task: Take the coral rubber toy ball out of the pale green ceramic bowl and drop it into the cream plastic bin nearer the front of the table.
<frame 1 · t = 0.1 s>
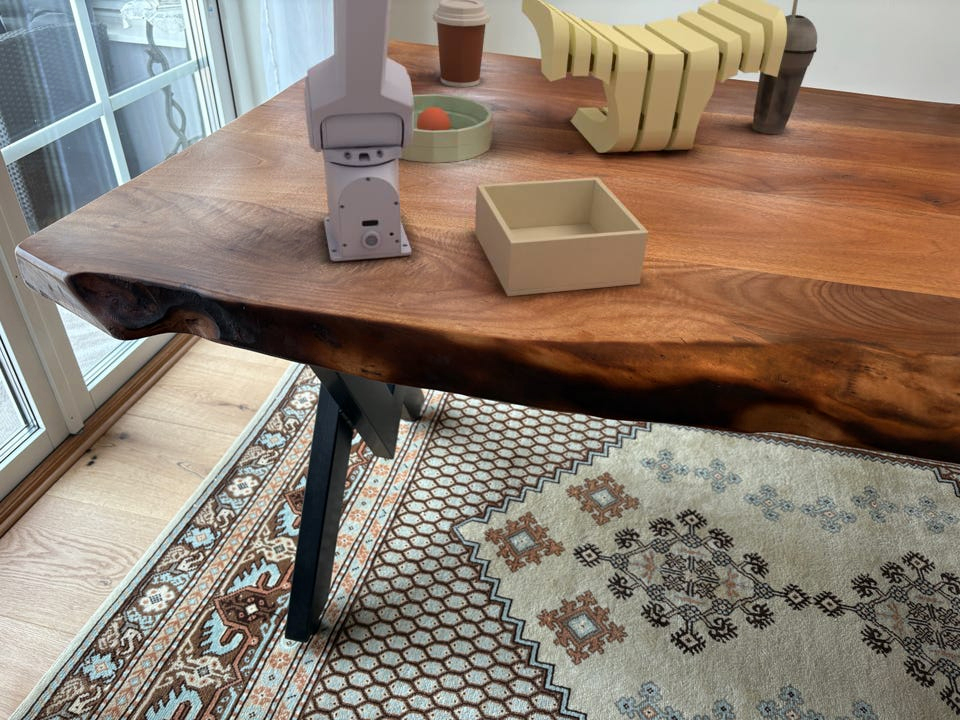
beverage cup: (767, 130, 113), on the table
bowl: (433, 145, 102), on the table
slatted curved stool: (631, 139, 108), on the table
coffee cup: (460, 82, 127), on the table
bin: (553, 257, 78), on the table
toy ball: (433, 141, 102), point 1 cm above the table, touching bowl
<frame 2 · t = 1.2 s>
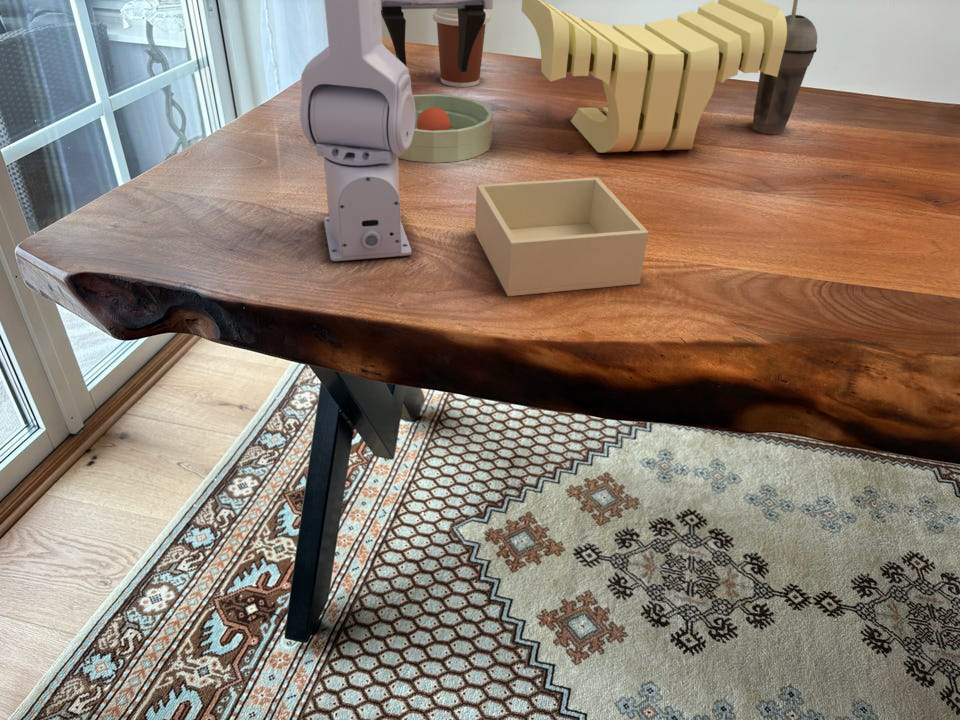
hand: (432, 70, 97), 10 cm above the table, tool pointing down, fingers open, 7 cm apart
nothing on the table moved.
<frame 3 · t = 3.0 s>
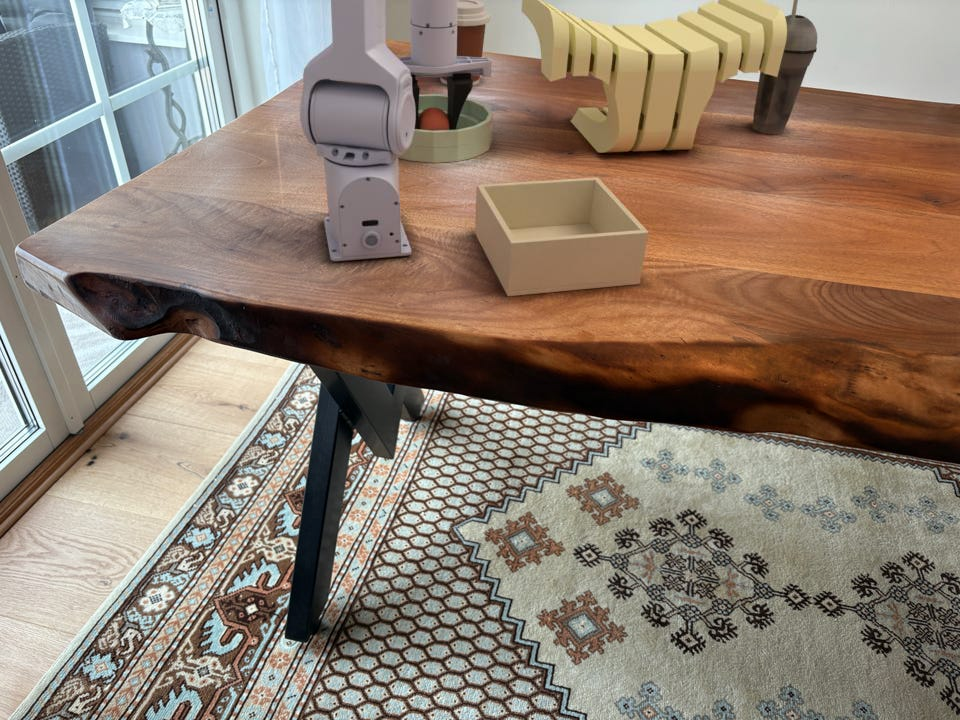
hand: (433, 133, 101), 2 cm above the table, tool pointing down, fingers closed on toy ball, 4 cm apart
toy ball: (433, 141, 102), point 1 cm above the table, touching bowl, gripper
everything else where it was.
when the fingers open (2 cm above the table, at t = 8.8 s): toy ball stays where it is, resting on bin.
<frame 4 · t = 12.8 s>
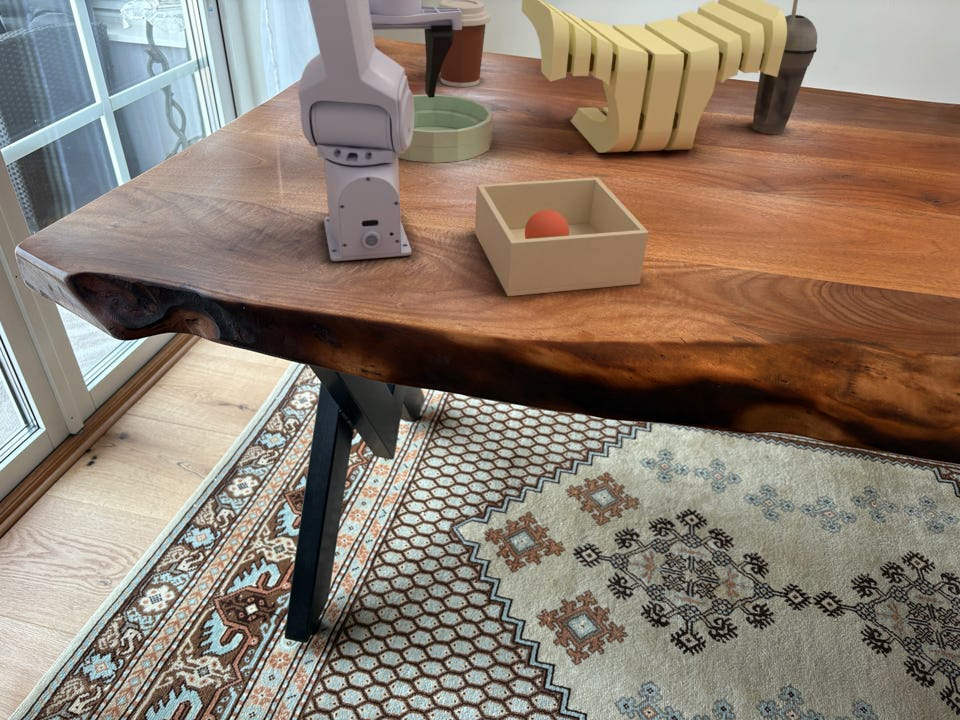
hand: (397, 96, 89), 9 cm above the table, tool pointing down, fingers open, 7 cm apart
toy ball: (553, 251, 77), point 1 cm above the table, tilted 23°, touching bin
everything else where it was.
at the end: toy ball inside the target area in the bin (0.0 cm from its centre), point 0.7 cm above the bin's base; the gripper is holding nothing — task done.
